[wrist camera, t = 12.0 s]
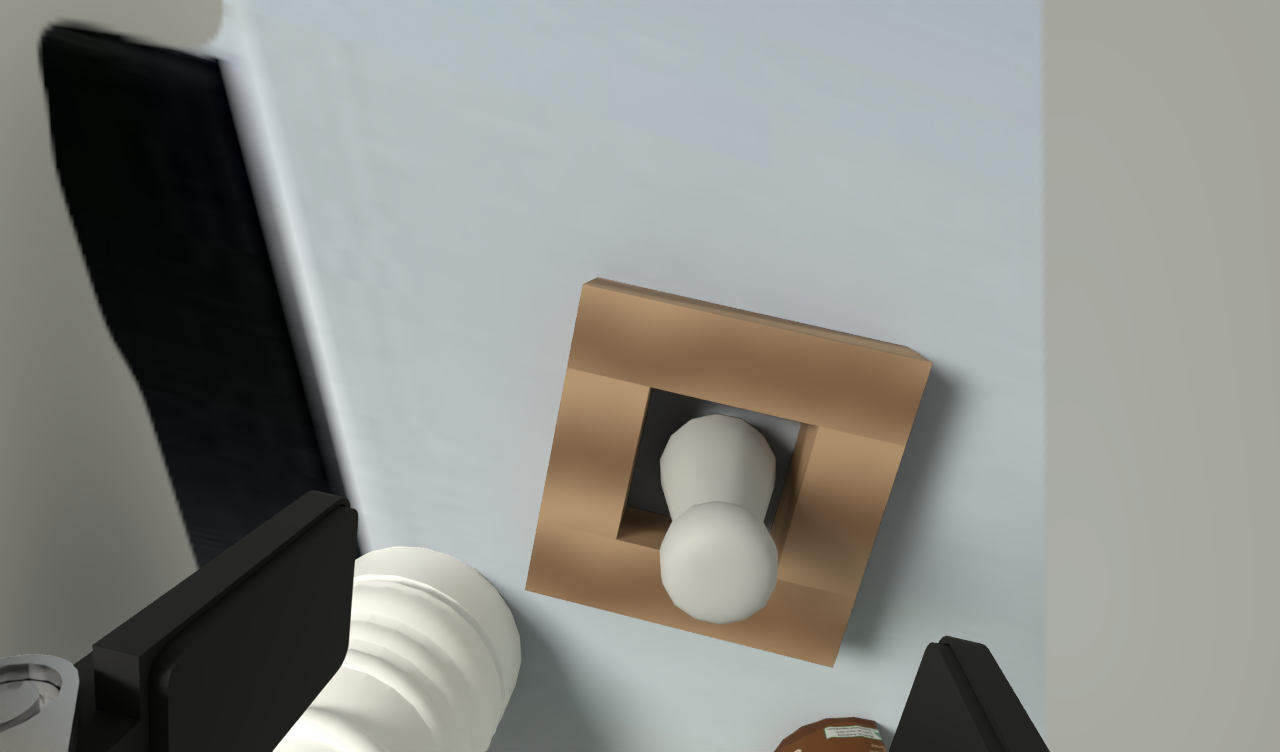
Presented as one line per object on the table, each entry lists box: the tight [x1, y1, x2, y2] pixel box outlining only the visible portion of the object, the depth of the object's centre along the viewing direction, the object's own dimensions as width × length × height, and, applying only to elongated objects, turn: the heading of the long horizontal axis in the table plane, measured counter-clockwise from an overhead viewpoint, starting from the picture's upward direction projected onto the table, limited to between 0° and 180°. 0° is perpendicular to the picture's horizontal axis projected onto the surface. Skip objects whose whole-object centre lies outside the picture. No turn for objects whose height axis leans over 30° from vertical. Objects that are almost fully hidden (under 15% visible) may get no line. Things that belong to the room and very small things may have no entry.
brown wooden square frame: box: [525, 277, 933, 668], centre depth 34 cm, size 16×16×4 cm
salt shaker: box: [660, 413, 778, 625], centre depth 29 cm, size 6×6×13 cm
